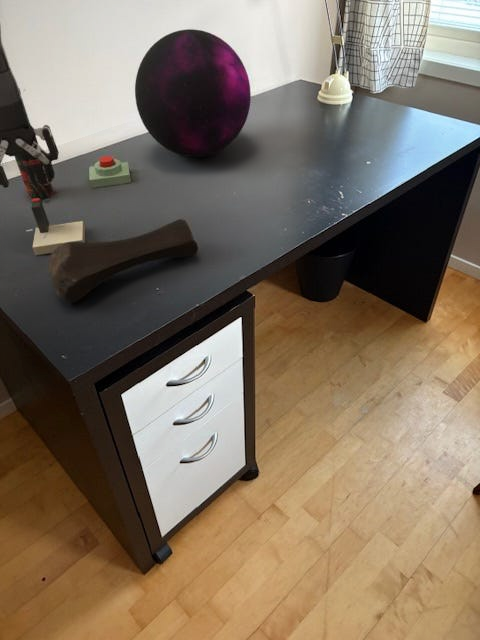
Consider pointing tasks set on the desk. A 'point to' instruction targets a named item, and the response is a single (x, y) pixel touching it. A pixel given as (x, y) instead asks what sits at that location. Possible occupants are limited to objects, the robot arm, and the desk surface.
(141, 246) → the dark brown bone
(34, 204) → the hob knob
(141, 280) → the desk surface
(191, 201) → the desk surface
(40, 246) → the cream flat slab
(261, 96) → the desk surface
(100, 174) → the box
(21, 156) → the deodorant
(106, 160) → the red push button
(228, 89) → the mottled black-purple ball
